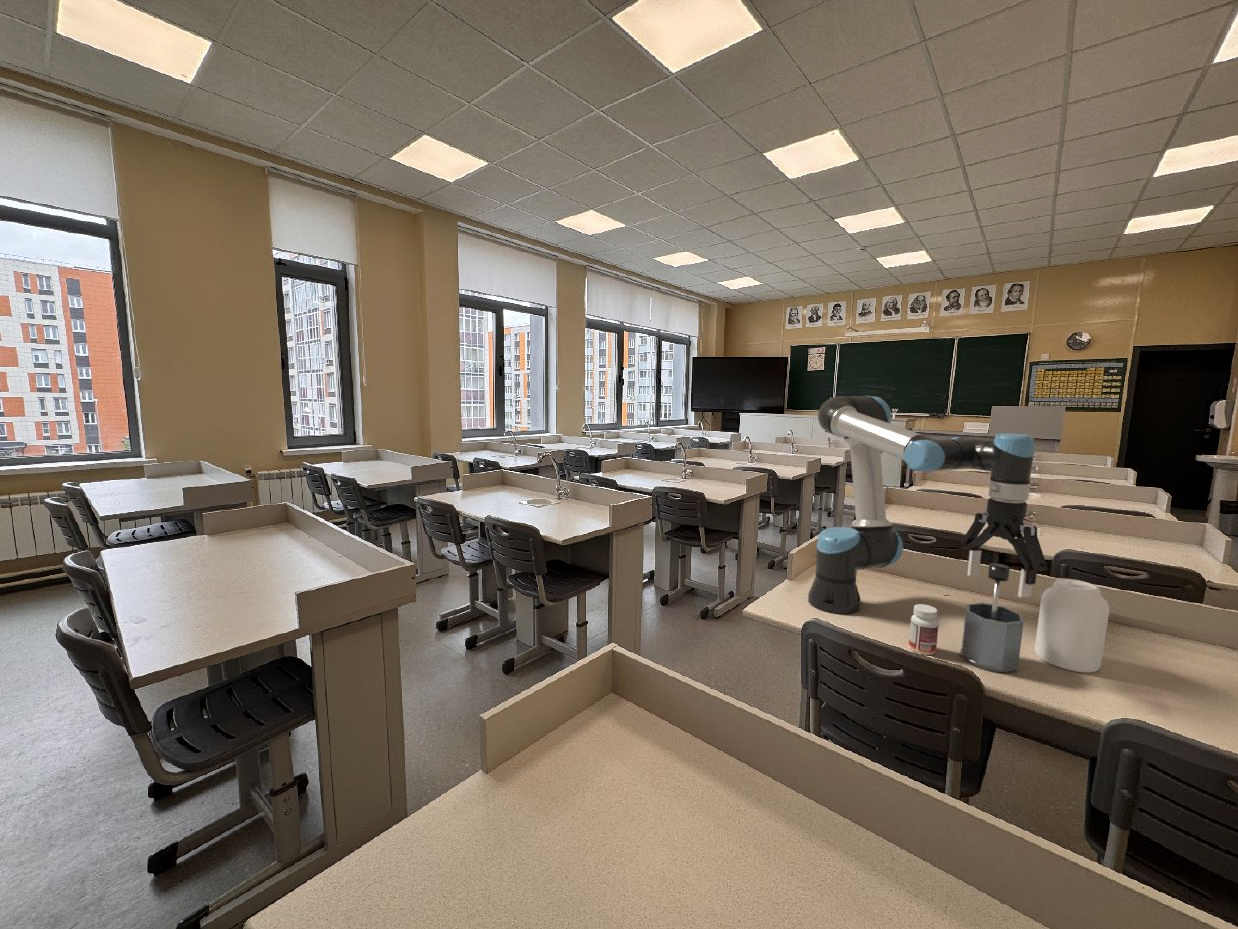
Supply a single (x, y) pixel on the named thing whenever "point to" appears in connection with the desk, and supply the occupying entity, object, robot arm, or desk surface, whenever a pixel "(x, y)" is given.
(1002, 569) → the plunger
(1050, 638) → the can
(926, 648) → the pill bottle
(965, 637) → the grey octagonal container
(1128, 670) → the desk surface
